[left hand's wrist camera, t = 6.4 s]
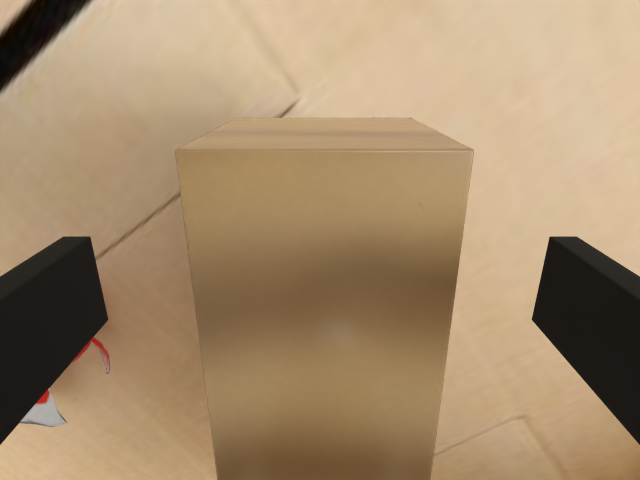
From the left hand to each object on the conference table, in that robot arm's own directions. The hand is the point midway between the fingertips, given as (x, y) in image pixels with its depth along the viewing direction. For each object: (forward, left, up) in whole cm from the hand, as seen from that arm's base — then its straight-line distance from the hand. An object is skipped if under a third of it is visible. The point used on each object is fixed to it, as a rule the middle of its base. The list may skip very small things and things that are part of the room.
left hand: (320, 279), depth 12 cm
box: (+9, 0, -10) cm, 13 cm away
